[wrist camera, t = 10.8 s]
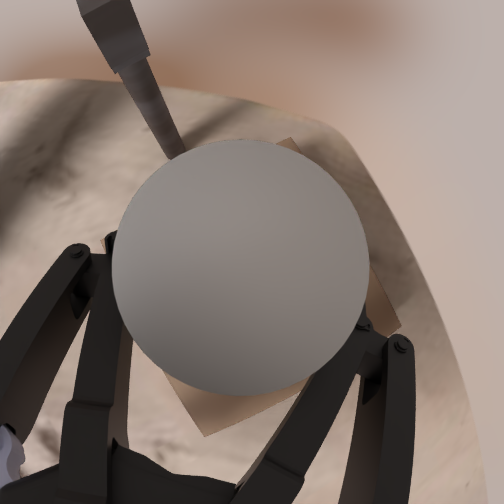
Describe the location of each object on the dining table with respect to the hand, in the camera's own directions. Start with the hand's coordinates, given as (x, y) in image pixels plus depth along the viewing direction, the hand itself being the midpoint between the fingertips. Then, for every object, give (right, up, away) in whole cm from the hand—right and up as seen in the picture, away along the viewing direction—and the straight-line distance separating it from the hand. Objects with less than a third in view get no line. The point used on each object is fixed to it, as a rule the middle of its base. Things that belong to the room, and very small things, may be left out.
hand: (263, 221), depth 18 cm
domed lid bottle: (-1, -4, +4) cm, 6 cm away
